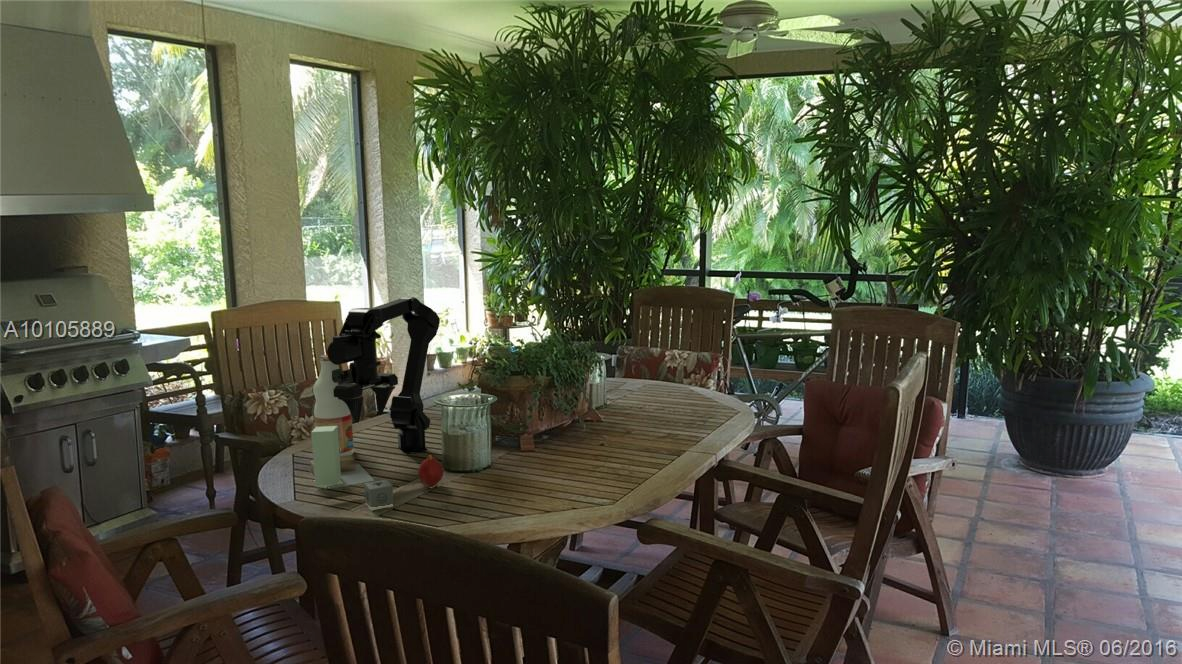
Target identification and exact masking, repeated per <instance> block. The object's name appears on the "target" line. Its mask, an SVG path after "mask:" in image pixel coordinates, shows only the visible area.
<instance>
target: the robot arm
mask: <svg viewBox="0 0 1182 664" xmlns="http://www.w3.org/2000/svg"><path fill="white" fill-rule="evenodd" d="M398 317H401V318H402V320H404V321H405V323H407V326H406V327H407V328H406V329H407V330H406V331H407V333H408V336H409V338H410V344H409V349H408V354H407V360H406V365H405V371H404V376H403V381H402V387H401V391H400V392H399V394H398V395H394V396H392V397H391V395H392V392H393V391H394V390H395V389H396V386H397V385H399V377H398V376H397V375H396V374H395V373H388V372H387V373H385V372H380V373H378V367H379V366H381V360H378V357H377V342H376V341H377V339H381V338H382V335H381V334H379V332H377V330H379V329H380V328H381V327H382V326H383V324H384V323H385V322H387V321H390V320H393V319H396V318H398ZM440 325H441V319H440V316H439V315H438V314H437V312H436V311H435V310H433V309H432V308H431V307H429V306H427V305H426V304H424V303H422V302H421V301H420V300H419V299H418V298H417V297H413V296H412V297H411V296H401V297H399V298H398V299H396V300H392V301H389V302H386V303H383V304H381V305H377V306H374V307H356V308H352V309H349V310H348V314H347V316H346V318H345V320H344V323H343V325H342V326H341V329H340V331H339V334H338V335H337V336H332V342H331V343H329V344H328V347H327V349H326V355H327V356H328V358H329V360H330V361H331V362H332V363H333V364H335V365H338V366H339V365H343V364H347V363H349V365H348V366H349V367H348V369H346V370H342V368H339V369H336V370H333V371H332V381H333V382H334V383H338V385H337V386H335V388H334V389H333V392H334V397H337V398H338V399H339V400H342V401H344V402H345V403H346V405H347V407H348V408H349V411H350V413H351V416H352V421H353V422H354V423H356V424H359V423H360V420H361V419H360V418H361V414H362V409H363V400H364V396H362V393H363V391H364V390H368V389H370V390H372V391H373V393H374V394H375V395H374V396H375V405H376V410H377V414H378V415H380V416H381V415H383V413H384V411H385V408H386V407H387V404H388V401H389V399H390V397H391V402H390V403H391V404H390V407H389V409H388V411H390V412H389V418H390V419H391V421H392V422H391V423H392V426H393V428H394V430H397V429H398V430H399V434H397V446H398V449H399V450H400V451H402V453H403V454H405V453H409V454H413V453H412V452H415V453H419V451H421V452H427V451H428V450H429V449H428V447H426V430H428V429H429V428H430V426H431V425H430V424H431V419H430V418H429V417H428V415H427V414H425V412H424V402H423V399H422V396H421V389H422V383H423V377H424V371H425V368H426V362H427V356H428V352H429V346H430V343H431V341H432V340H434V338H435V337H436V336H437V334H438V332H439V331H438V330H439V327H440ZM426 450H427V451H426Z"/></svg>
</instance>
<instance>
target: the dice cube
mask: <svg viewBox="0 0 1182 664" xmlns="http://www.w3.org/2000/svg"><path fill="white" fill-rule="evenodd" d="M363 486H364V487H363V488H364V501H365V502H366V503H367V504H368V505H369V506H370V507H378V506H385V505H390V504H394V503H395V502H394V491H393V489H394V486H393V484H392V483H390V481H389V480H387V479H382V480H377V481H376V480H375V481H371V482H365V483H364V484H363Z"/></svg>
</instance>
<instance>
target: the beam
mask: <svg viewBox="0 0 1182 664" xmlns="http://www.w3.org/2000/svg"><path fill="white" fill-rule="evenodd" d="M309 464H310V472H311V473H312V474H313V476H314V465H313V460H310V463H309ZM355 465H356V459H355V457H354V456H353V454H352V455H347V456H341V457H340V470H341V473H342V472H348V471H354V470H355Z"/></svg>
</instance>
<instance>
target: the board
mask: <svg viewBox="0 0 1182 664" xmlns="http://www.w3.org/2000/svg"><path fill="white" fill-rule="evenodd" d="M314 481H315V480H314ZM375 481H376V480H375V479H374V478H373V477H372V476H371V475H370V474H369V473H368V472H367V471H366V470H365V468H363V467H362V466H361V465H360V464H359V463H355V470H354V471H348V472H342V473H341V479H340V480H339V482H338V483H337V485H317V487H325V486H327V487H326V488H328V487H329V488H328V489H327V490H329V489H336V488H341V487H346V486H354V485H358V484H363V483H369V482H375Z"/></svg>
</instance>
